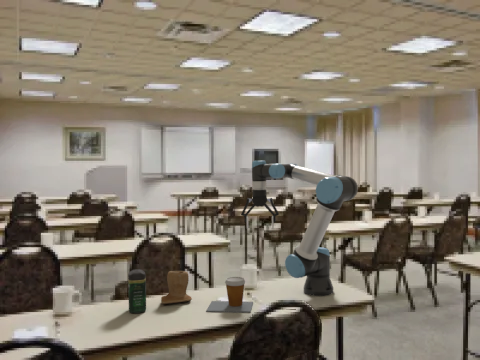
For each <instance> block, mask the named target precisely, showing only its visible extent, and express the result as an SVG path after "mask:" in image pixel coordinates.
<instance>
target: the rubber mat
mask: <svg viewBox="0 0 480 360" xmlns="http://www.w3.org/2000/svg"><path fill="white" fill-rule="evenodd" d="M253 305H254V301H243V302H242V305H241V306H230V305H229V302H228V300H227V301H226V300H211V302H210V303H209V305H208V306H207V309H206V310H205V312H206V313H243V314H245V313H246V314H248V313H249V314H251V312H252V308H253Z"/></svg>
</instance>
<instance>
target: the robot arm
mask: <svg viewBox="0 0 480 360" xmlns="http://www.w3.org/2000/svg"><path fill="white" fill-rule="evenodd" d="M251 178H252V179H251V180H252V183H251V184H252V198H249V197H247V198H246V203H245V205H244V208H243V209H242V211H241V214H240V215H241V216H243V217H244V223H246V229H247V230H249V224H250V223H249V216H248V215H249V214H250V213H251V211H252V210H253V209H254V208H255V207H265V208H266V209H267V210H268V212H269V213H270V215H272V216H271V229H273V230H274V229H275V228H274V223H276V220H277V219H276V218H277V216H279V215H280V212H279V211H278V209H277V207H276V205H275V204H274V202H273V201H274V200H273V199H274V198H272V197H270V198H268V197H267V196H268V195H267V193H268V192H267V179H281V178H283V179H285V178H286V179H287V178H289V179H291V180H294V181H299V182H301V183H305V184H308V185H311V186H315V196H316V199H315V201H316V203H317V205H316V206H315V210H314V212H313V214H312V216H311V219H310V220H309V223H308V226H307V228H306V230H305V233H304V234H303V238H302V239H301V242H300V244H298V245H296V246H295V248H294V250H293V252H292V253H291V254H289V255H287V256H286V257H285V260H284V267H285V269H286V271H287V273H288V274H289V275H290V276H291V277H292V278H295V279H299V278H300V279H301V278H305V277H306V278H305V282H304V285H303V293H305V294H307V295H310V296H314V297H315V296H316V297H325V296H331V295H332V294H334V286H333V283H332V280H331V276H330V275H331V273H330V272H331V269H330V265H331V263H330V259H331V258H330V257H331V255H330V250H329V249H328V248H326V247H322V246H321V247H320V245H321V244H322V241H323V239H324V236H325V234H326V232H327V230H328V228H329V225H330V223H331V221H332V218H333V217H334V214H335V212H337V211H340V209H341V208H342V205H343V203H344V202H349V201H351V200H353V199H354V198H355V197H356V196H357V194H358V191H359V187H358V186H359V185H358V183H357V182H356V180H355V179H354V178H353V177H351V176H349V175H348V176H345V175H341V174H337V175H334V174H329V173H326V172H322V171H318V170H315V169H311V168H307V167H303V166H301V165H298V164H297V163H277V162H275V163H267V162H266V160H253V161H252V163H251ZM251 202H252V203H253V204H252V205H251V206H250V208H249V209H248V210H247V208H248V206H249V203H251ZM267 202H269V203H270V205H271V207H272V209H273V210H274V211H273V210H272V209H271V208H270V206H269V205H268V204H267ZM246 210H247V212H246Z"/></svg>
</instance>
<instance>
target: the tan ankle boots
mask: <svg viewBox="0 0 480 360" xmlns="http://www.w3.org/2000/svg"><path fill="white" fill-rule="evenodd" d="M189 277H190V276H189V273H188V271H185V270H173V271H172V270H171V271H168V273H167V277H166V282H167V287H168V294H166V295H162V296H161V299H160V301H161V305H169V304H177V303H184V302H185V303H186V302H189V301H192V296H190V295H188V294H187V288H188V285H189V281H190V280H189Z"/></svg>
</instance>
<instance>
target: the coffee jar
mask: <svg viewBox="0 0 480 360" xmlns="http://www.w3.org/2000/svg"><path fill="white" fill-rule="evenodd" d="M127 278H128V279H127V280H128V281H127V282H128V285H127V286H128V311H129V313H131V314H140V313H144V312H146V310H147V278H146V271H144V270H143V269H140V268H139V269H136V268H135V269H132V270H130V271H129V272H128V274H127Z"/></svg>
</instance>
